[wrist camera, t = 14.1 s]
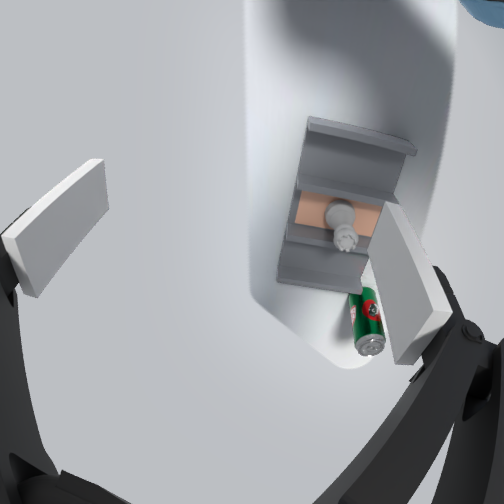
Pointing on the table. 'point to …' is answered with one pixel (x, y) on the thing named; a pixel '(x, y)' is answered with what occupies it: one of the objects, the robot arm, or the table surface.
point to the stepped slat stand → (338, 188)
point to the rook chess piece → (342, 224)
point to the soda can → (366, 323)
